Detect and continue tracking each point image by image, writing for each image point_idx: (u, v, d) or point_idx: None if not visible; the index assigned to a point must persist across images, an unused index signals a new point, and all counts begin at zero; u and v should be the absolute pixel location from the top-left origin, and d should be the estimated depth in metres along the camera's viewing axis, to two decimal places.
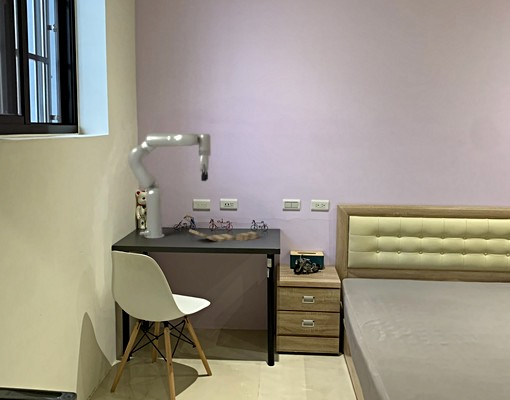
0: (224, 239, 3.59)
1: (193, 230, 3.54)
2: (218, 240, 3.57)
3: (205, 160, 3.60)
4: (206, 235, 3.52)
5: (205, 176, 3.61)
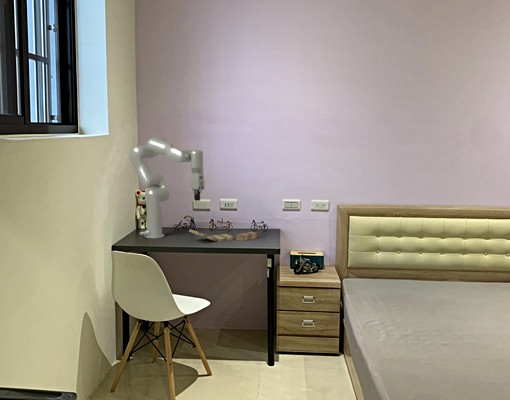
0: (224, 239, 3.59)
1: (193, 230, 3.54)
2: (218, 240, 3.57)
3: None
4: (206, 235, 3.52)
5: None
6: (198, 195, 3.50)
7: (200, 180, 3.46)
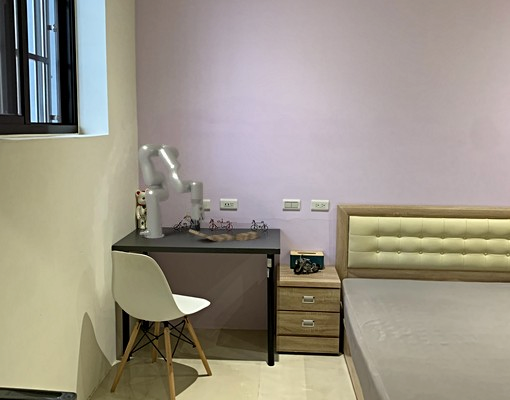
0: (224, 239, 3.59)
1: (193, 230, 3.54)
2: (218, 240, 3.57)
3: None
4: (206, 235, 3.52)
5: None
6: (198, 226, 3.53)
7: (200, 211, 3.48)
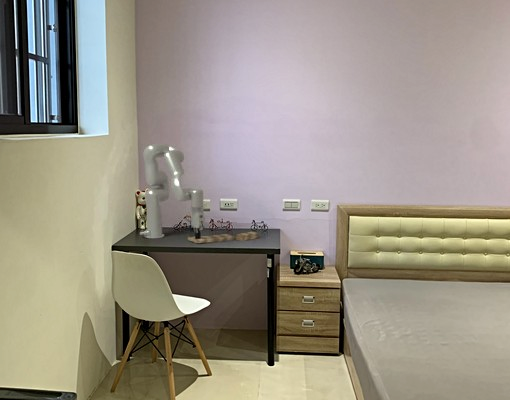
0: (224, 239, 3.59)
1: (191, 238, 3.54)
2: (218, 240, 3.57)
3: None
4: (205, 240, 3.52)
5: None
6: (198, 233, 3.53)
7: (200, 219, 3.49)
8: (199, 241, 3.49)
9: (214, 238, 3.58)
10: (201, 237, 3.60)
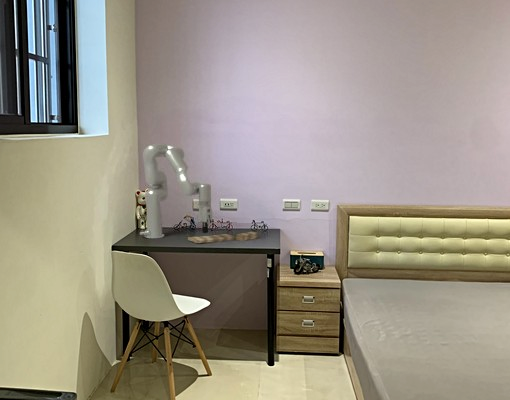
0: (224, 239, 3.59)
1: (191, 238, 3.54)
2: (218, 240, 3.57)
3: None
4: (205, 240, 3.52)
5: None
6: (206, 227, 3.56)
7: (208, 213, 3.52)
8: (199, 241, 3.49)
9: (214, 238, 3.58)
10: (201, 237, 3.60)
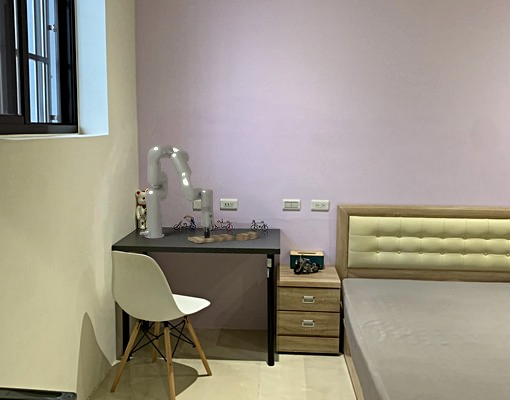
0: (224, 239, 3.59)
1: (191, 238, 3.54)
2: (218, 240, 3.57)
3: None
4: (205, 240, 3.52)
5: None
6: (208, 233, 3.57)
7: (210, 218, 3.53)
8: (199, 241, 3.49)
9: (214, 238, 3.58)
10: (201, 237, 3.60)
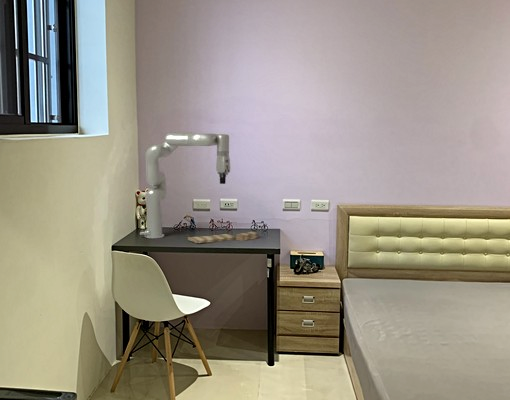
0: (224, 239, 3.59)
1: (191, 238, 3.54)
2: (218, 240, 3.57)
3: None
4: (205, 240, 3.52)
5: None
6: (224, 178, 3.55)
7: (226, 163, 3.51)
8: (199, 241, 3.49)
9: (214, 238, 3.58)
10: (201, 237, 3.60)
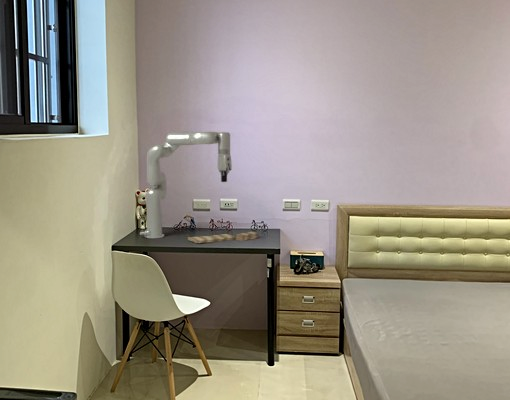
0: (224, 239, 3.59)
1: (191, 238, 3.54)
2: (218, 240, 3.57)
3: None
4: (205, 240, 3.52)
5: None
6: (225, 176, 3.55)
7: (227, 161, 3.51)
8: (199, 241, 3.49)
9: (214, 238, 3.58)
10: (201, 237, 3.60)
